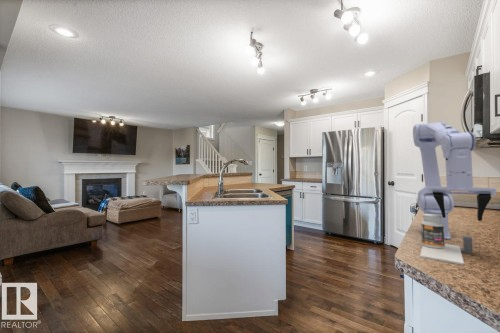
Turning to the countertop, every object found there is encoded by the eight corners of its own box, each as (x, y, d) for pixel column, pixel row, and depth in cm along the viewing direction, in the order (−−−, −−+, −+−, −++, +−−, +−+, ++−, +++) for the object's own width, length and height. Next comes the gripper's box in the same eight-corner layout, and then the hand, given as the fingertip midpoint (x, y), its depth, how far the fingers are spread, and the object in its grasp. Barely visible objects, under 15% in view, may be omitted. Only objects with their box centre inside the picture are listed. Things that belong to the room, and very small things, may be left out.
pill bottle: (424, 247, 70) (422, 215, 70) (420, 242, 75) (418, 212, 75) (447, 250, 67) (446, 217, 68) (441, 244, 72) (440, 214, 73)
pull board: (423, 242, 77) (423, 229, 77) (470, 249, 69) (470, 234, 70) (420, 257, 63) (419, 241, 63) (478, 267, 56) (477, 249, 56)
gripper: (427, 173, 68) (429, 217, 68) (497, 172, 59) (500, 224, 58) (428, 173, 73) (430, 214, 73) (492, 172, 64) (495, 220, 63)
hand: (461, 218), depth 66 cm, fingers open, 7 cm apart
